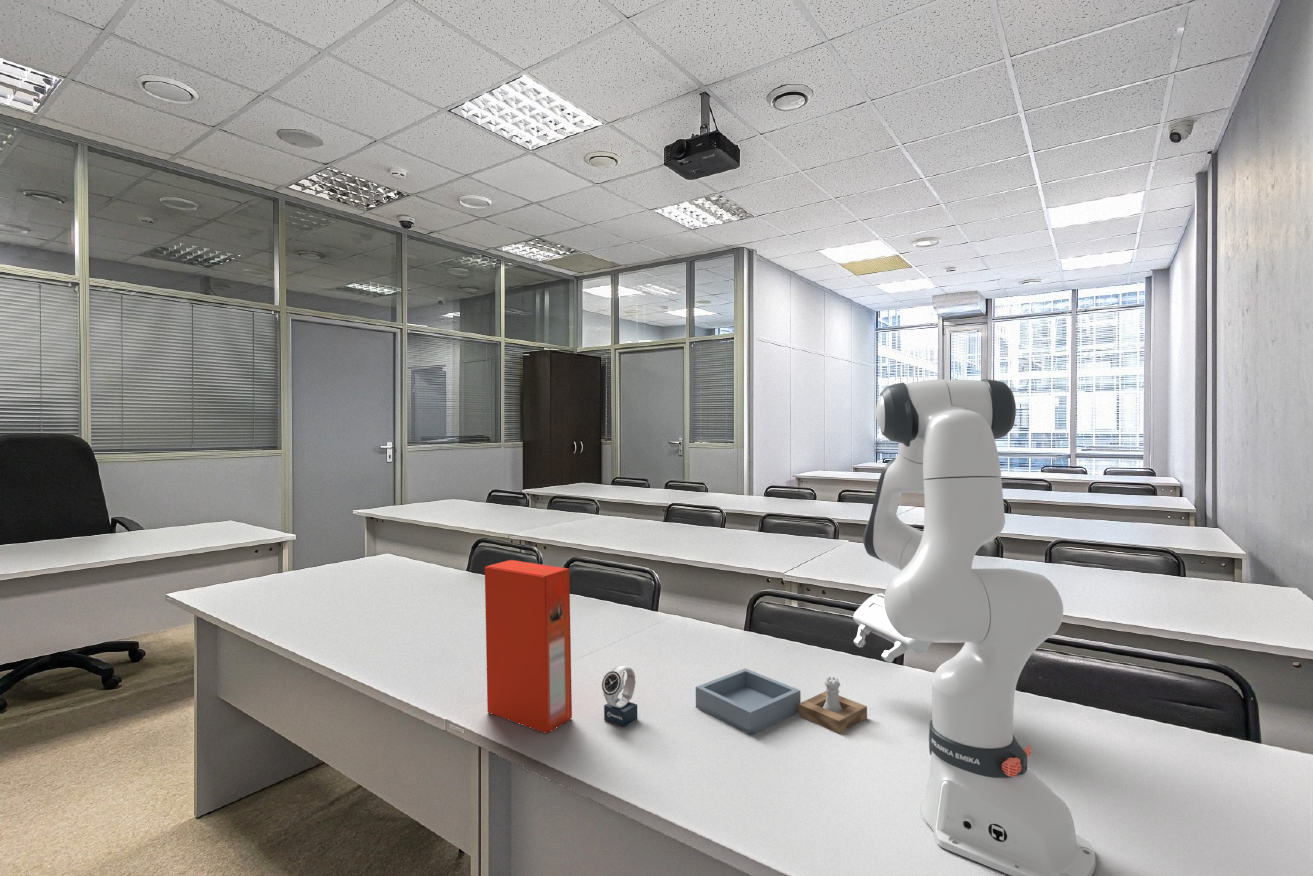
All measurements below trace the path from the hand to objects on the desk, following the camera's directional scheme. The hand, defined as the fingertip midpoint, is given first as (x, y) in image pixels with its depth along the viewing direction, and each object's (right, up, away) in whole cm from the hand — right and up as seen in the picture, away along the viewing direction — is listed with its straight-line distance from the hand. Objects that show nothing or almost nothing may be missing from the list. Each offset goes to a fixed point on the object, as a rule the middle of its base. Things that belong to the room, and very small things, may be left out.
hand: (870, 652), depth 130 cm
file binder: (-74, -13, -1) cm, 75 cm away
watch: (-54, -13, -3) cm, 56 cm away
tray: (-26, -13, +1) cm, 29 cm away
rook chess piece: (-9, -13, -3) cm, 16 cm away
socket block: (-9, -13, -3) cm, 16 cm away
